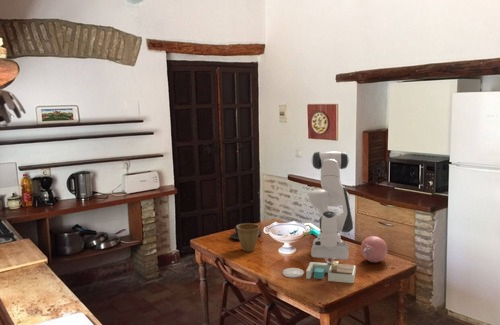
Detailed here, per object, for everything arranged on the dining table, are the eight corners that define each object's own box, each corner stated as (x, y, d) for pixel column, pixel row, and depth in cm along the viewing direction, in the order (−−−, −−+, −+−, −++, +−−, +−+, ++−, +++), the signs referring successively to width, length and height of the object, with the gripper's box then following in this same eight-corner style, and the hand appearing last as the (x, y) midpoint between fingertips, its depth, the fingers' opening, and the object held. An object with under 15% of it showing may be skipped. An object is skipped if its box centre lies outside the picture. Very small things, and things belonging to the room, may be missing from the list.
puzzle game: (273, 230, 338) (287, 242, 310) (273, 227, 338) (287, 238, 309) (310, 226, 346) (327, 237, 317) (310, 222, 346) (327, 233, 317)
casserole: (252, 230, 339) (252, 219, 338) (267, 236, 325) (267, 224, 323) (225, 237, 325) (224, 226, 323) (239, 243, 310) (239, 232, 309)
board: (310, 269, 260) (310, 261, 259) (355, 273, 252) (355, 265, 252) (306, 278, 247) (306, 270, 246) (353, 283, 239) (353, 275, 238)
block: (315, 274, 252) (315, 268, 252) (324, 275, 251) (324, 268, 250) (313, 278, 248) (313, 271, 247) (322, 279, 246) (322, 272, 245)
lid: (333, 265, 252) (333, 259, 252) (353, 266, 249) (353, 261, 249) (331, 272, 242) (331, 266, 242) (351, 274, 239) (351, 268, 238)
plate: (285, 268, 262) (285, 267, 262) (305, 270, 258) (305, 268, 258) (280, 276, 251) (280, 275, 251) (301, 278, 247) (301, 276, 247)
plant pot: (247, 255, 287) (246, 231, 284) (233, 249, 298) (232, 226, 296) (264, 249, 296) (264, 226, 293) (250, 244, 307) (249, 221, 305)
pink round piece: (351, 263, 266) (351, 238, 264) (370, 255, 280) (370, 231, 277) (373, 270, 255) (373, 244, 253) (392, 261, 268) (392, 236, 266)
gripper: (349, 240, 245) (349, 264, 247) (312, 238, 251) (312, 262, 253) (348, 244, 239) (348, 269, 241) (310, 242, 245) (310, 266, 247)
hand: (329, 265), depth 247 cm, fingers closed
